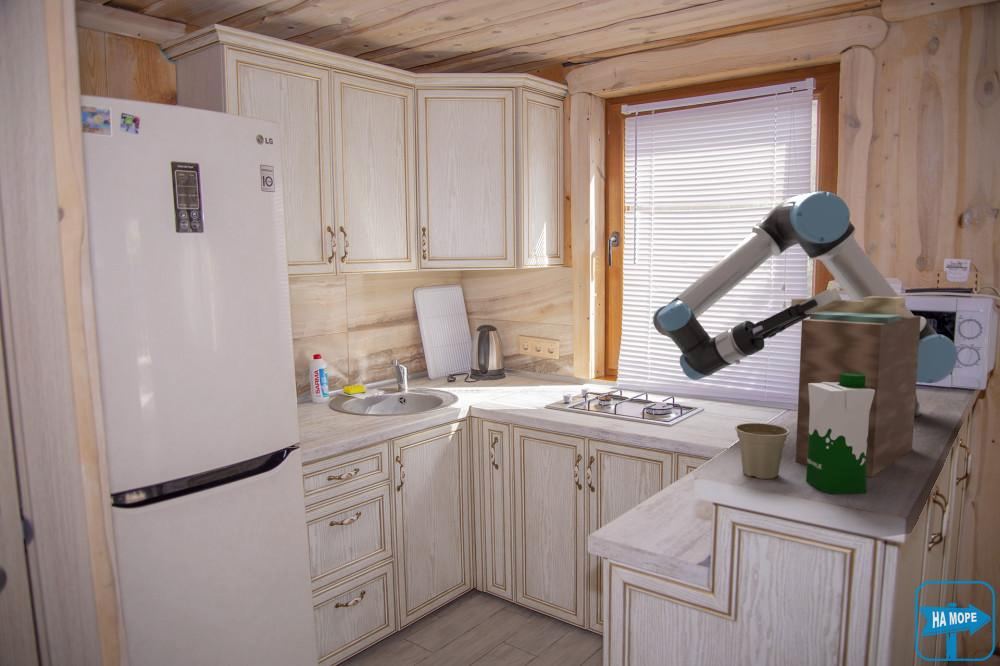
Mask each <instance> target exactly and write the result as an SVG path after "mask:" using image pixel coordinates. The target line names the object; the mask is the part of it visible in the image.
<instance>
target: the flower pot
mask: <svg viewBox="0 0 1000 666" xmlns="http://www.w3.org/2000/svg"><path fill="white" fill-rule="evenodd" d="M734 430H735V431H736V434H737V435H736V436H737V438H738V440H739V441H738V442H739V449H740V451H739V452H740V457H741V458H740V459H741V466H742V467H741V468H742V472H743V474H744V475H746V476H747V477H755V478H757V479H761V480H765V479H766V480H767V479H769V480H770V479H774V478H776V477H777V476H779V474H780V473H779V471H780V468H781V460H782V456H783V450H784V446H785V445H784V444H785V442H786V440H787V436H788V435H789V434H790V430H789V429H788V428H786V427H784V426H781V425H779V424H773V423H772V424H771V423H761V422H747V423H740V424H737V425H735V426H734Z"/></svg>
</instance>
